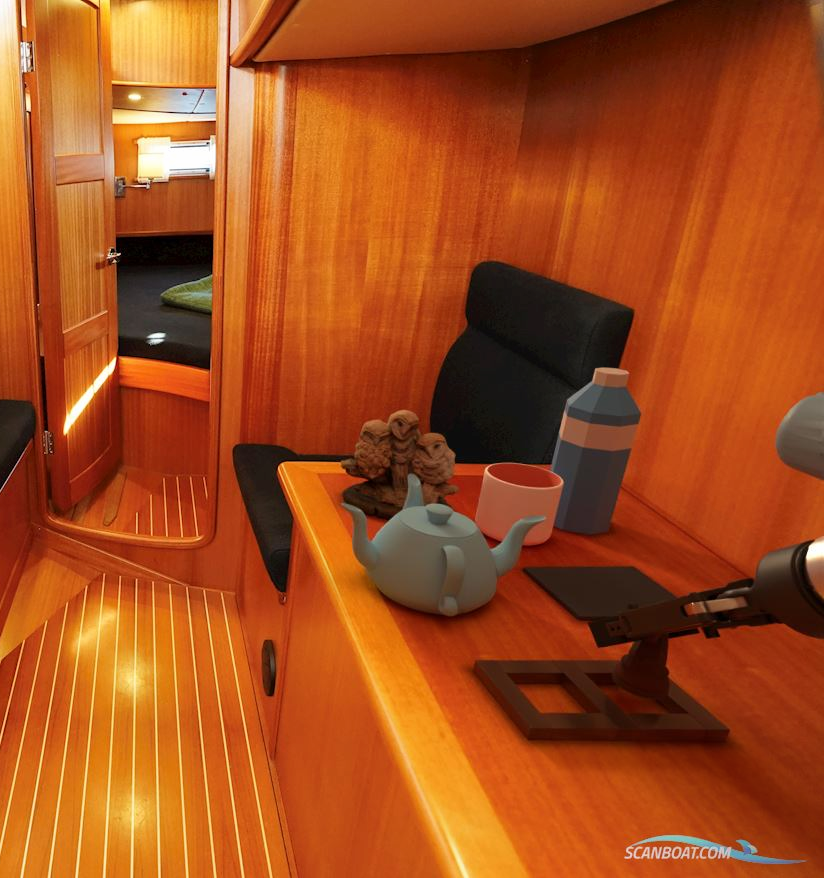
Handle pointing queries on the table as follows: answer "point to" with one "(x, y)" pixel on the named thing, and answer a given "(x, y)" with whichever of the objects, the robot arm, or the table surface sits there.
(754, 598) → the robot arm
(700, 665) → the table surface
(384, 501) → the owl figurine
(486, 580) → the teapot
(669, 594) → the felt mat
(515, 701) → the rack
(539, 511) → the cup
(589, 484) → the water bottle
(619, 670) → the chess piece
